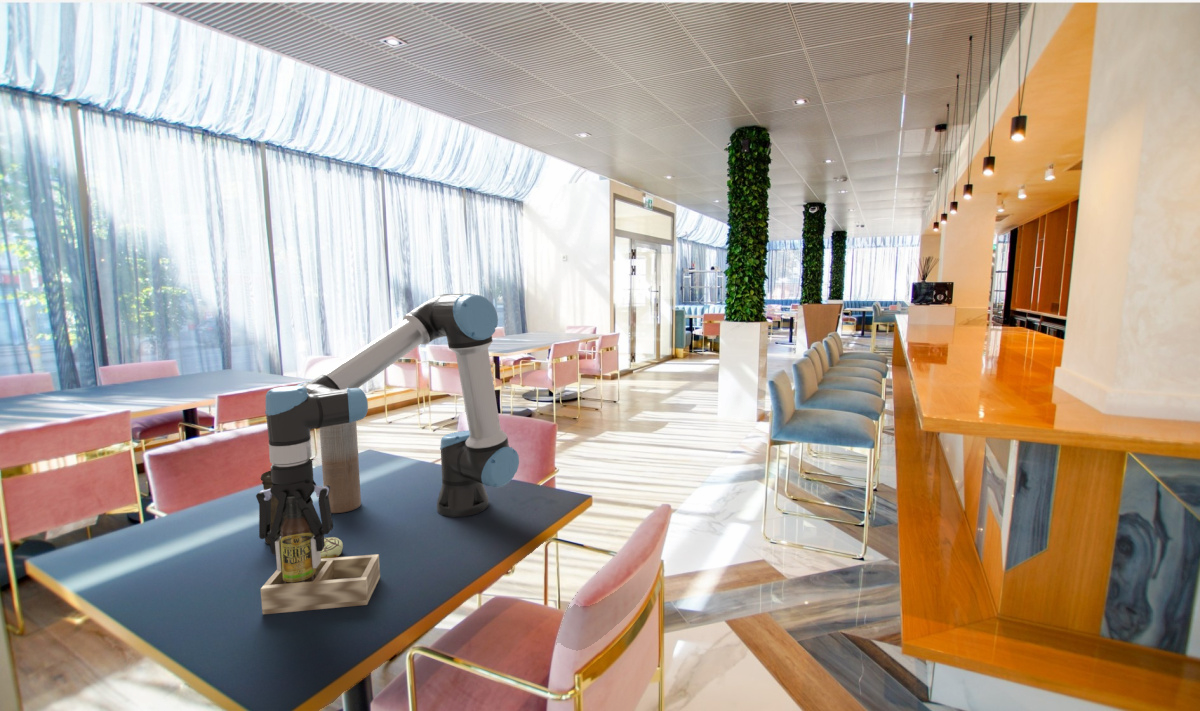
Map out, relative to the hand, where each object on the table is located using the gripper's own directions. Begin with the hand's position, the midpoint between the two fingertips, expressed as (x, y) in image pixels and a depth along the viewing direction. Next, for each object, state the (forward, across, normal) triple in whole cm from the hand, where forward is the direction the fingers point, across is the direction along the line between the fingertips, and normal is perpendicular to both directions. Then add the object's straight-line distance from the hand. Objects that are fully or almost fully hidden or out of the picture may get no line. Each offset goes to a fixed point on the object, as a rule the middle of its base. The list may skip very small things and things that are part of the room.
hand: (299, 566), depth 112 cm
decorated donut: (+7, +2, -17) cm, 19 cm away
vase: (+7, +6, -49) cm, 50 cm away
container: (+7, +15, -30) cm, 35 cm away
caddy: (+7, -5, 0) cm, 8 cm away
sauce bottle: (+4, 0, 0) cm, 4 cm away
